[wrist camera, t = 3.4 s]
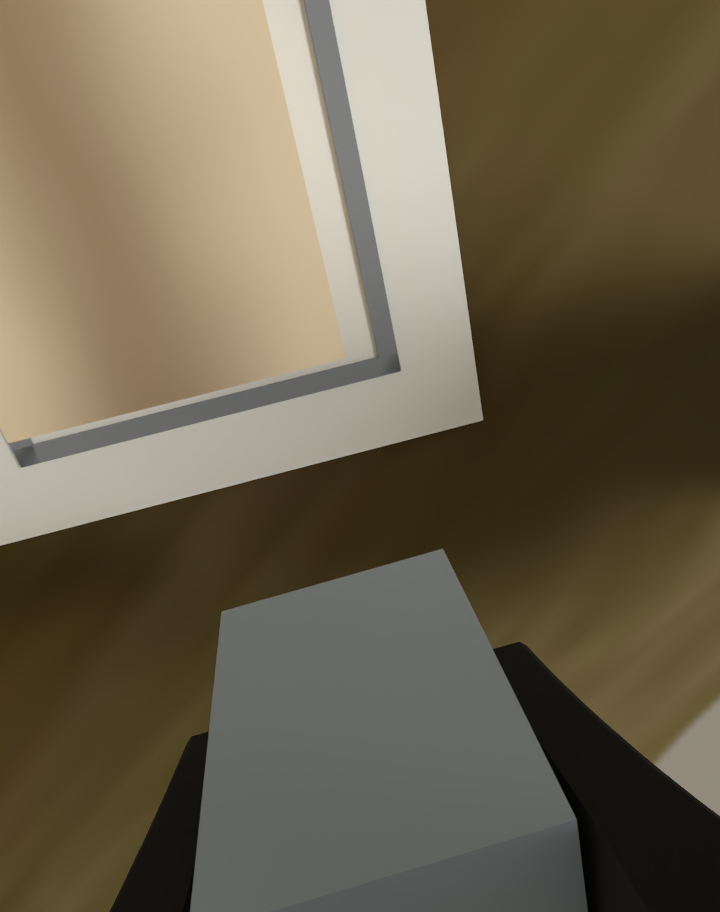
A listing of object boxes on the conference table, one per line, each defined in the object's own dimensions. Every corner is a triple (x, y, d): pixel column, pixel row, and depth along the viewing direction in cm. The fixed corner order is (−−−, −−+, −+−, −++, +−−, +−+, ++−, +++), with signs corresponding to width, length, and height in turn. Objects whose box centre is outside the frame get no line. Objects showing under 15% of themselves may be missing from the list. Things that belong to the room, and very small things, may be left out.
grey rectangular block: (443, 548, 11) (576, 819, 6) (476, 707, 12) (600, 1012, 8) (221, 611, 10) (188, 936, 6) (286, 763, 12) (298, 1106, 8)
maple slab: (251, -10, 12) (246, -69, 9) (331, 328, 15) (345, 358, 12) (-95, 69, 12) (-204, 31, 9) (55, 397, 15) (7, 443, 12)
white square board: (382, -276, 11) (385, -293, 11) (479, 416, 17) (484, 421, 17) (-392, -114, 10) (-416, -125, 10) (-13, 544, 16) (-20, 552, 16)
